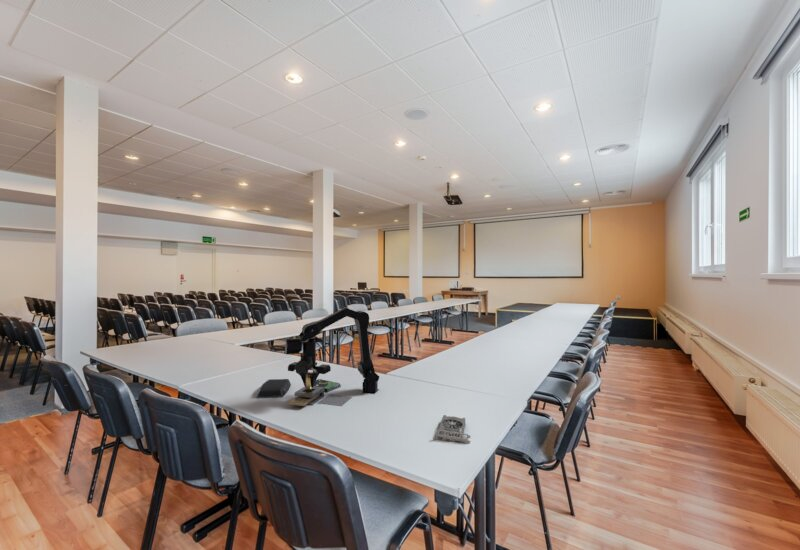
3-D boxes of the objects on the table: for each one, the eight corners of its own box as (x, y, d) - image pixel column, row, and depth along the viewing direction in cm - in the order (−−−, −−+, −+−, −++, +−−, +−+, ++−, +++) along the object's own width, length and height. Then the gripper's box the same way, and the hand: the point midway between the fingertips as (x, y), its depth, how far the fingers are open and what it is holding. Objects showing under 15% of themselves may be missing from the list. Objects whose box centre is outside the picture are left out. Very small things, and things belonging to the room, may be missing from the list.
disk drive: (304, 389, 173) (327, 394, 166) (304, 384, 173) (327, 388, 166) (319, 384, 182) (341, 388, 175) (319, 378, 182) (341, 382, 175)
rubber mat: (352, 397, 160) (352, 396, 160) (341, 407, 148) (341, 406, 148) (329, 395, 163) (329, 394, 163) (316, 404, 151) (316, 403, 151)
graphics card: (470, 435, 115) (434, 430, 119) (469, 447, 115) (434, 441, 118) (473, 416, 132) (441, 412, 135) (472, 426, 132) (441, 422, 135)
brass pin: (313, 394, 156) (313, 372, 156) (310, 396, 153) (310, 373, 153) (307, 393, 156) (307, 371, 156) (304, 395, 153) (304, 373, 154)
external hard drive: (254, 399, 158) (254, 390, 158) (266, 386, 177) (266, 378, 177) (283, 398, 159) (283, 389, 160) (292, 385, 179) (292, 377, 179)
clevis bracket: (307, 396, 162) (307, 385, 162) (324, 397, 159) (324, 387, 159) (287, 408, 146) (287, 396, 146) (305, 410, 144) (305, 398, 144)
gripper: (280, 354, 150) (280, 390, 149) (318, 357, 144) (318, 394, 144) (294, 349, 160) (294, 383, 160) (331, 352, 155) (331, 386, 155)
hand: (309, 387), depth 155 cm, fingers closed on brass pin, 3 cm apart
